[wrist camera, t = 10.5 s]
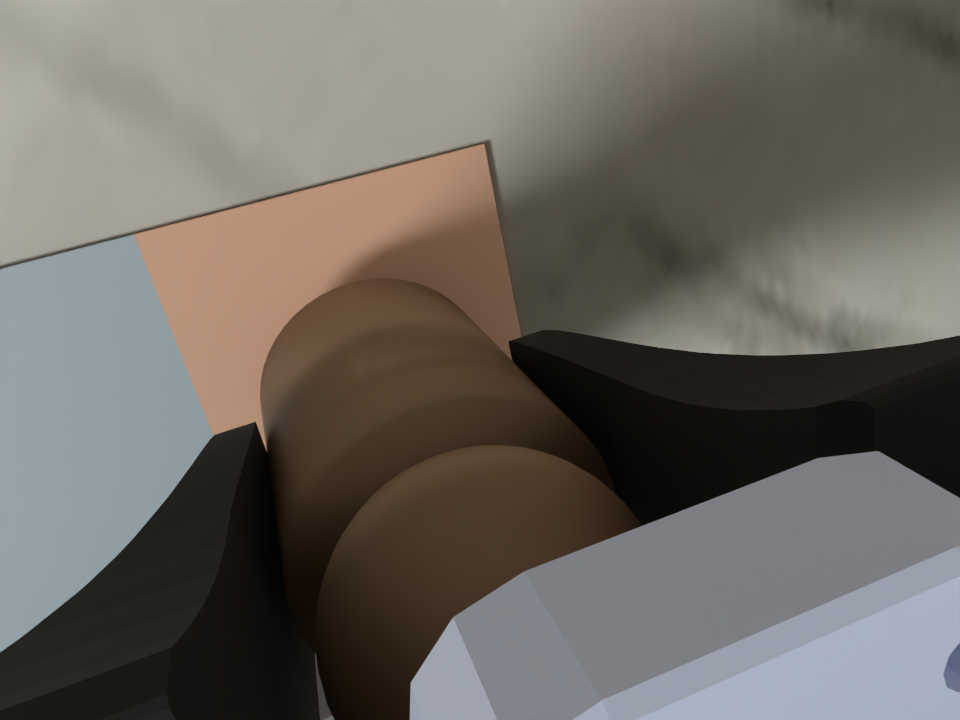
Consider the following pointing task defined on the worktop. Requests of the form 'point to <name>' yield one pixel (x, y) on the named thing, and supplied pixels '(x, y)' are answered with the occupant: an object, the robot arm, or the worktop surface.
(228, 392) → the strip
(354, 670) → the walnut pawn
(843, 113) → the worktop surface
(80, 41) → the worktop surface
